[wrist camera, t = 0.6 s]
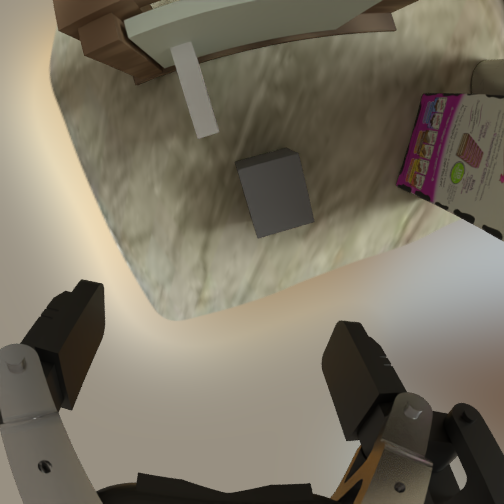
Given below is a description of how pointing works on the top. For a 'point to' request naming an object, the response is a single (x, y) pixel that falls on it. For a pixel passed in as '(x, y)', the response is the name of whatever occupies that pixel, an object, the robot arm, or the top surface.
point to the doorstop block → (275, 191)
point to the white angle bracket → (226, 35)
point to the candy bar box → (459, 157)
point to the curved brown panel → (146, 68)
